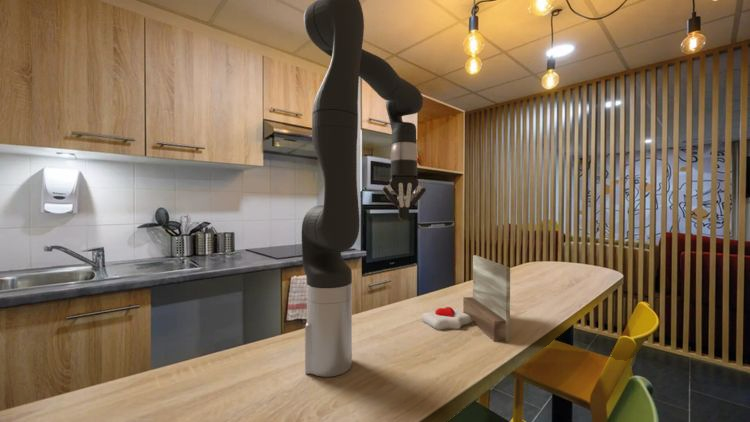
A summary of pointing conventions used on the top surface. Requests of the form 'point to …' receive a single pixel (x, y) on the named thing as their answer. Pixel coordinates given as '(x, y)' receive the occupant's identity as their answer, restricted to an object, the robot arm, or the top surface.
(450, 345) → the top surface
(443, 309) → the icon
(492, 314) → the display ledge
